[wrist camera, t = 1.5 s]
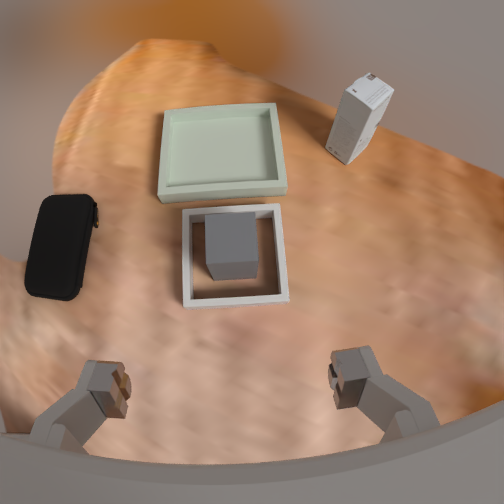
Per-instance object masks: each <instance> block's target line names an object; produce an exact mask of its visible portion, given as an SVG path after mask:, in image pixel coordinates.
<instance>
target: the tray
mask: <svg viewBox="0 0 504 504" xmlns="http://www.w3.org/2000/svg"><path fill="white" fill-rule="evenodd" d="M287 187H288V185H287V178H286V170H285V163H284V155H283V148H282V141H281V134H280V127H279V121H278V114H277V108H276V103H251V104H230V105H215V106H203V107H192V108H182V109H173V110H165V113H164V122H163V132H162V142H161V154H160V166H159V180H158V197H159V199H160V201H161V202H162V204H164V203H176V202H188V201H201V200H216V199H231V198H249V197H268V196H286V192H287Z"/></svg>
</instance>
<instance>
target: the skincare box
mask: <svg viewBox="0 0 504 504" xmlns="http://www.w3.org/2000/svg"><path fill="white" fill-rule="evenodd" d="M393 92H394V89H393V88H391V87H390V86H389V85H387V84H386V83H384V82H383V81H381V80H380V79H379V78H377V77H376V76H374V75H372V74H371V73H367V74H366V75H364V76H363V77H361V78H359V79H357V80H356V81H355V82H354V83H353V84H352V85H350V86H349V87H348V88H346V89H345V90H344V92H343V95H342V98H341V102H340V105H339V108H338V111H337V114H336V117H335V120H334V123H333V126H332V128H331V131H330V134H329V137H328V140H327V143H326V146H325V148H326V149H327V150H328V151H329V152H330V153H331V154H333V155H334V156H335V157H336V158H338V159H339V160H340V161H341V162H343V163H344V164H345V165H347V164H349V163H350V162H352V161H353V160H354V159H355V158H356V157H357V156H358V155H359V154H360V153H361V152H362V151H363V150H364V149H365V148H366V147H367V145H368V144H369V142H370V140H371V138H372V136H373V134H374V132H375V130H376V128H377V126H378V124H379V122H380V120H381V118H382V115H383V113H384V111H385V109H386V107H387V105H388V103H389V100H390V98H391V96H392V94H393Z"/></svg>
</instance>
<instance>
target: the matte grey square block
mask: <svg viewBox="0 0 504 504" xmlns="http://www.w3.org/2000/svg"><path fill="white" fill-rule="evenodd" d="M205 247H206V265H207V267H208V269H209V271H210V273H211V275H212V277H213V280H214V281H219V280H237V279H253V278H257V271H258V263H259V255H258V242H257V229H256V216H255V212H243V213H226V214H211V215H205Z"/></svg>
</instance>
